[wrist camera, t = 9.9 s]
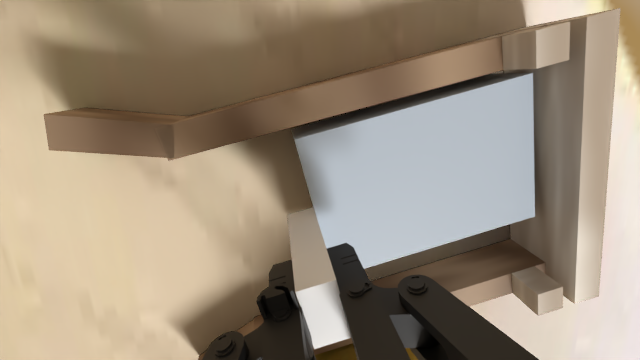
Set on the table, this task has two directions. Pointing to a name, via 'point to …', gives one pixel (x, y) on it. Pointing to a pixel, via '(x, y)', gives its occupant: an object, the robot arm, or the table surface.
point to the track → (422, 75)
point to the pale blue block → (423, 167)
